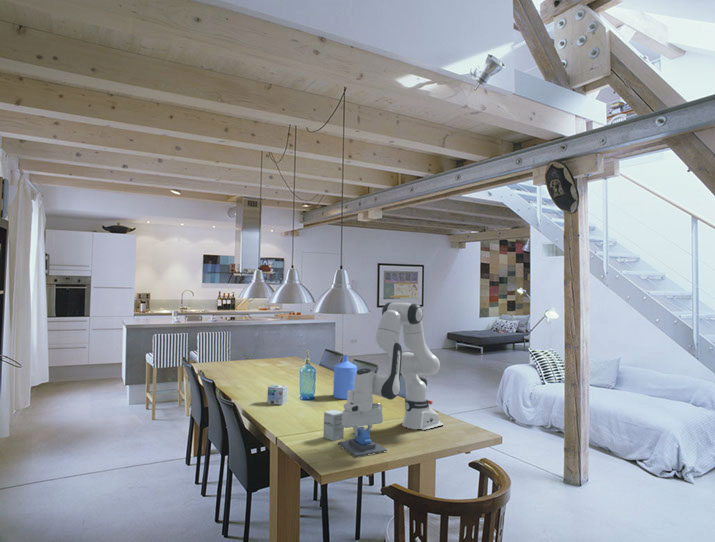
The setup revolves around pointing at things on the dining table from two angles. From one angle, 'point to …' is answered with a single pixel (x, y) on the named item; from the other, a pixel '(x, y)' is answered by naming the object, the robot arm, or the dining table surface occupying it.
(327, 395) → the dining table surface
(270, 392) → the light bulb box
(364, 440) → the servo block
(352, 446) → the plate
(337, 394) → the water jug
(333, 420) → the supplement box
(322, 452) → the dining table surface
